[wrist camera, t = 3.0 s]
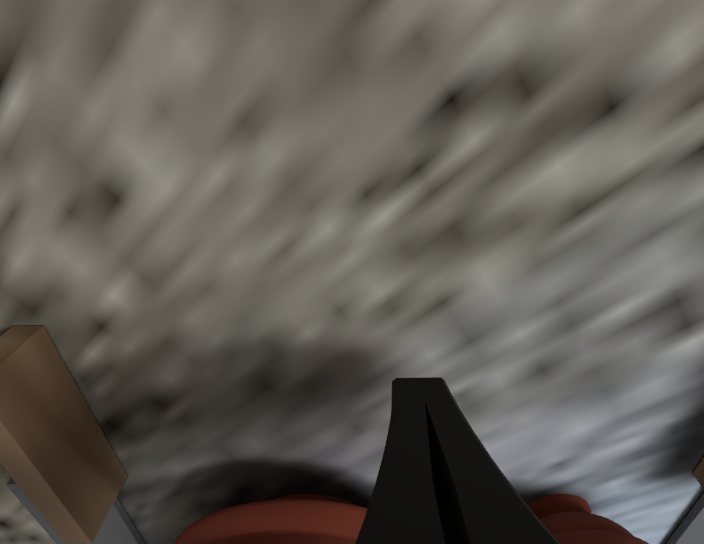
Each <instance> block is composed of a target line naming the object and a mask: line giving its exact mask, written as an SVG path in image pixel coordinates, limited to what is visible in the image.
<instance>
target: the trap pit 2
mask: <svg viewBox="0 0 704 544" xmlns="http://www.w3.org/2000/svg"><path fill="white" fill-rule="evenodd" d="M666 544H704V493H703V494H702V496H701V497H700V498H699V500H698V501H697V502H696V504H695V505H694V506H693V508H692V509H691V510H690V512H689V513H688V514H687V516H686V517H685V518H684V520H683V521H682V522H681V524H680V525H679V526H678V528H677V529H676V530H675V532H674V533H673V534H672V536H671V537H670V538H669V540H668V541H667V542H666Z"/></svg>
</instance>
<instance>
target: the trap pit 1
mask: <svg viewBox="0 0 704 544" xmlns="http://www.w3.org/2000/svg"><path fill="white" fill-rule="evenodd" d="M7 486H8V487H9V488H10V489H11V490H12V492H13V493H14V494H15V495H16V496H17V498H18V499H19V500H20V501H21V502H22V503H23V505H24V506H25V507H26V508H27V509H28V511H29V512H30V513H31V514H32V515H33V517H34V518H35V519H36V520H37V521H38V522H39V524H40V525H41V526H42V527H43V528H44V530H45V531H46V532H47V533H48V534H49V535H50V537H51V538H52V539H53V540H54V541H55V543H56V544H145V542H144V541H143V539H142V537H141V536H140V534H139V533H138V531H137V529H136V528H135V526H134V524H133V523H132V521H131V519H130V518H129V516H128V515H127V513H126V511H125V510H124V508H123V506H122V505H121V503H120V501H119V500H118V498H116V500H115V502H114V504H113V505H112V507H111V509H110V511H109V513H108V515H107V517H106V518H105V520H104V522H103V524H102V526H101V528H100V530H99V531H98V533H97V535H96V537H95V539H94V541H93V543H65V542H64V541H63V540H62V539H61V538H60V536H59V535H58V534H57V533H56V532H55V530H54V529H53V528H52V527H51V525H50V524H49V523H48V522H47V521H46V519H45V518H44V517H43V516H42V514H41V513H40V512H39V511H38V510H37V508H36V507H35V506H34V505H33V503H32V502H31V501H30V500H29V499H28V497H27V496H26V495H25V494H24V492H23V491H22V490H21V489H20V488H19V486H18V485H17V484H16V483H15V482H14V480H13V479H12V478H11V479H10V481H9V482H8V483H7Z"/></svg>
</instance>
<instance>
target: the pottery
mask: <svg viewBox="0 0 704 544" xmlns="http://www.w3.org/2000/svg"><path fill="white" fill-rule="evenodd" d="M527 506H528V507H529V508H530V509H531V510H532V512H533V513H534V514H535V515H536V516H537V518H538V519H539V520H540V521H541V522H542V524H543V525H544V526H545V527H546V528H547V529H548V531H549V532H550V533H551V534H552V535H553V536H554V537H555V539H556V540H557V541H558V542H559V543H560V544H648V543H647V542H645V541H643V540H641V539H639V538H637V537H634V536H633V535H632V534H631V533H630V532H629V531H627V530H626V529H625V528H623V527H622V526H620V525H619V524H617V523H615V522H613V521H611V520H609V519H607V518H604V517H602V516H598V515H595V514H591V509H590V507H589V505H588V503H587V502H586V501H585V500H584V499H582V498H580V497H578V496H575V495H569V494H555V495H548V496H544V497H541V498H538V499H536V500H533V501H532V502H530V503H528V504H527ZM367 509H368V508H365V507H361V506H357V505H355V504H353V503H351V502H349V501H346V500H343V499H340V498H336V497H332V496H326V495H317V494H298V495H290V496H284V497H280V498H277V499H274V500H265V501H257V502H251V503H246V504H241V505H237V506H233V507H229V508H226V509H222V510H220V511H217V512H214V513H212V514H209V515H207V516H205V517H203V518H201V519H199V520H198V521H196V522H194V523H193V524H191V525H190V526H189V527H187V528H186V529H185V530H184V531H183V532H182V533H181V534H180V535H179V536H178V538H177V539H176V540H175V542H174V544H355V542H356V540H357V537H358V534H359V532H360V529H361V526H362V524H363V521H364V518H365V515H366V512H367Z"/></svg>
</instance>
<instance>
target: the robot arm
mask: <svg viewBox="0 0 704 544" xmlns="http://www.w3.org/2000/svg"><path fill="white" fill-rule="evenodd" d="M355 544H560V543H559V542H558V541H557V540H556V539H555V537H554V536H553V535H552V534H551V533H550V532H549V531H548V529H547V528H546V527H545V526H544V525H543V524H542V522H541V521H540V520H539V519H538V518H537V516H536V515H535V514H534V513H533V512H532V510H531V509H530V508H529V507H528V506H527V504H526V503H525V502H524V501H523V499H522V498H521V497H520V495H519V494H518V493H517V492H516V490H515V489H514V488H513V486H512V485H511V484H510V482H509V481H508V480H507V478H506V477H505V476H504V474H503V473H502V472H501V470H500V469H499V468H498V466H497V465H496V463H495V462H494V461H493V459H492V458H491V456H490V455H489V454H488V452H487V451H486V449H485V448H484V446H483V445H482V443H481V442H480V440H479V439H478V437H477V436H476V434H475V433H474V431H473V430H472V428H471V426H470V425H469V423H468V422H467V420H466V418H465V417H464V415H463V413H462V412H461V410H460V408H459V407H458V405H457V403H456V401H455V400H454V398H453V396H452V394H451V392H450V390H449V388H448V387H447V385H446V382H445V381H444V380H443V379H442V378H396V379H395V380H393V381H392V409H391V420H390V426H389V431H388V436H387V441H386V446H385V450H384V454H383V458H382V462H381V465H380V469H379V473H378V477H377V480H376V484H375V487H374V490H373V494H372V497H371V500H370V503H369V506H368V509H367V512H366V515H365V518H364V521H363V524H362V526H361V529H360V532H359V534H358V537H357V540H356V542H355Z"/></svg>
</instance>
